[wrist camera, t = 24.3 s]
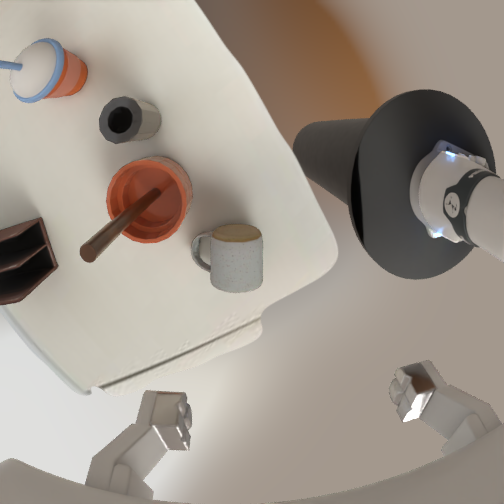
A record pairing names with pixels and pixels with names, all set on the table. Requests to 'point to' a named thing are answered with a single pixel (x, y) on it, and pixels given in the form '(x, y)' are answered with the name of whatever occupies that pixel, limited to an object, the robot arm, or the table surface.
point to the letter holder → (24, 260)
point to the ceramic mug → (233, 257)
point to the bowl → (161, 210)
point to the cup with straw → (45, 72)
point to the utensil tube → (129, 120)
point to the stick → (116, 227)
